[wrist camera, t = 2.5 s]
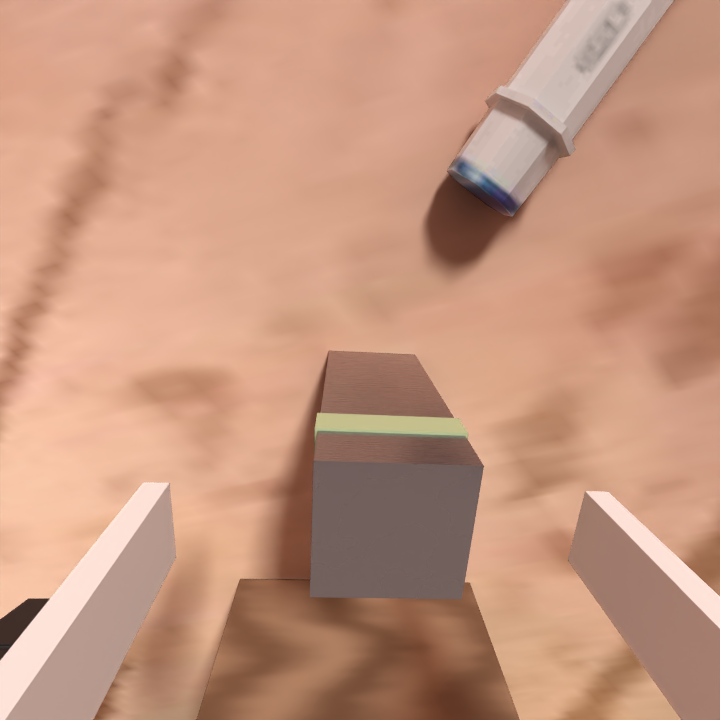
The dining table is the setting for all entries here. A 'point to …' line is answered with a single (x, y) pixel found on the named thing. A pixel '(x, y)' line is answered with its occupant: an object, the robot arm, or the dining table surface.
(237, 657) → the walnut stand
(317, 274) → the dining table surface
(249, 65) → the dining table surface
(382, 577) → the steel column
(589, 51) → the white plastic rod
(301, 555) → the dining table surface
